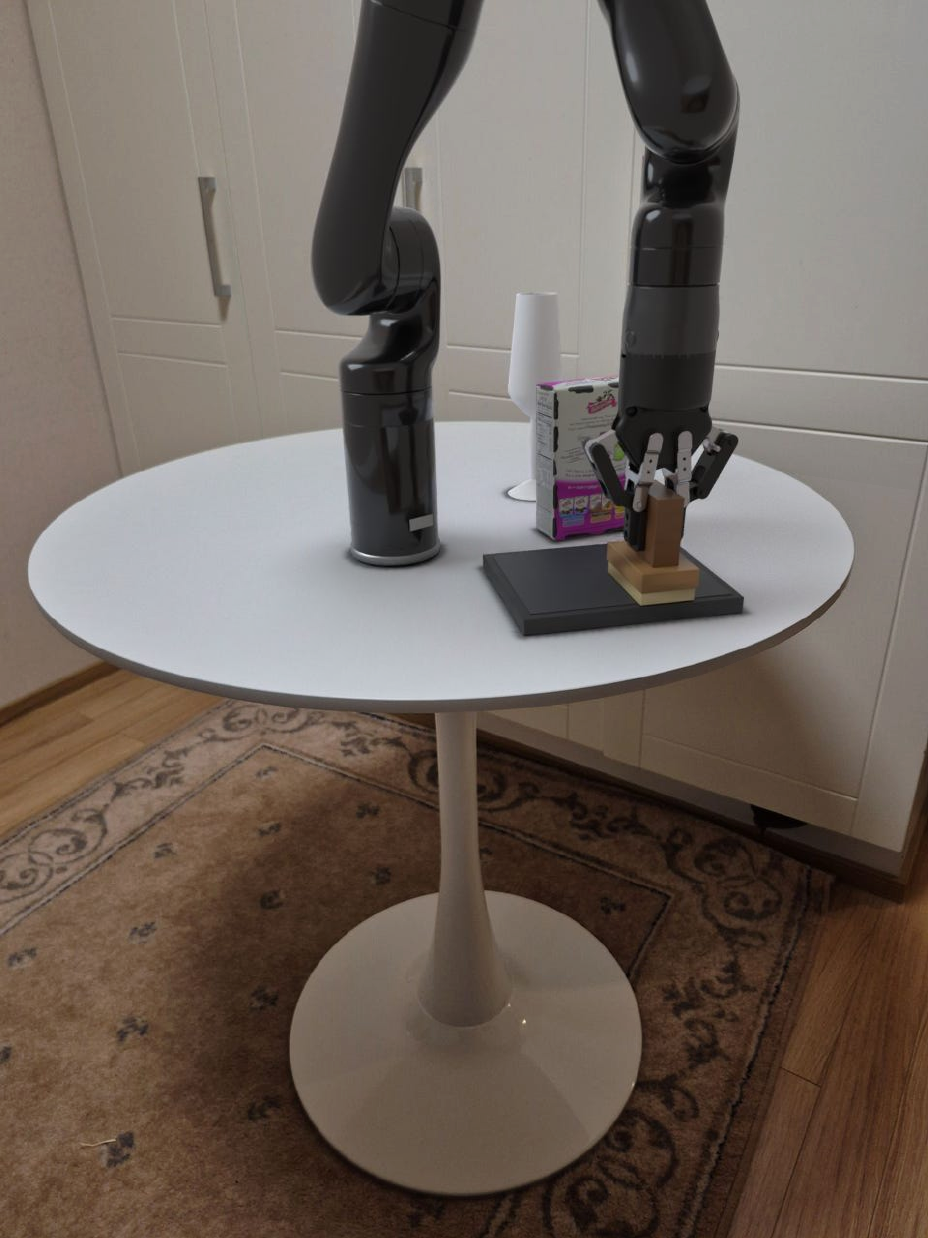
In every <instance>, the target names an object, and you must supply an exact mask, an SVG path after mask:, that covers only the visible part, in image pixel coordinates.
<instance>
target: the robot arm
mask: <svg viewBox="0 0 928 1238" xmlns="http://www.w3.org/2000/svg"><path fill="white" fill-rule="evenodd" d="M595 1H596V4H597V7H598V9H599V12H600V14H601V16H602V19H603V20H604V24H605V25H606V27H607V30H608V33H609V37H610V42H611V47H612V52H613V56H614V60H615V65H616V68H617V72H618V73H617V74H618V77H619V81H620V85H621V87H622V93H623V95H624V99H625V103H626V105H627V109H628V111H629V115H630V118H631V121H632V124H633V126H634V129H635V131H636V133H637V135H638V137H639V139H640V141H641V142H642V143H643V144H644V152H643V153H644V154H643V168H642V181H641V182H642V183H641V198H640V203H639V205H638V208H637V209H636V212H635V214H634V216H633V220H632V224H631V225H632V226H631V231H630V242H629V257H628V273H627V283H628V284H627V286H626V294H625V300H624V305H623V310H622V320H621V336H620V339H621V340H620V353H619V354H620V355H619V369H618V370H619V371H618V375H619V386H618V411H617V414H616V417H615V419H614V420H613V422H612V425H611V430H610V431H608V432H606V433H604V434H603V435H601V436H599V437H597V438H596V439H593V438H587V439H585V440H584V441H583V444H582V447H583V450H584V452H585V454H586V456H587V459H588V461H589V463H590V465H591V467H592V469H593V472H594V474H595V476H596V478H597V480H598V483H599V485H600V487H601V489H602V491H603V493H604V496H605V497H606V498H607V499H609V500H611V501H612V502H613V503H614V504H615V505H616V506H619V507H620V506H624V508H625V513H624V529H623V530H622V536H623V539H624V540H625V541H626V542H627V543H628V544H629V546H630V547H631V548H632V549H633V550H634V551H636V552H637V551H644V549H645V538H646V525H647V511H646V510H644V509H645V508H646V504H647V499H648V494H649V489H650V486H652V484H653V482H654V480H655V476H656V471H659V470H661V472H662V475H663V479H664V480H663V481H664V485H665V486H667V487H668V488H670V489H671V490H673V491H674V492H676V493H677V494H679V495H680V496H682V497H683V498H685V502H684V512H683V523H682V533H681V541H683V538H684V536H685V535H684V534H685V524H686V515H687V514H686V513H687V508H688V506H689V504H691V503H692V502H695V501H697V500H706V499H707V498H708V497H709V495H710V493H711V492H712V490H713V488H714V486H715V485H716V483H717V482H718V479H719V478H720V476H721V474H722V473H723V471H724V469H725V467H726V466H727V464H728V462H729V460H730V458H731V457H732V455H733V454H734V451H735V450H736V448H737V446H738V445H739V437H738V436H737V435H735V434H733V433H731V432H729V431H727V430H725V429H722V428H717V427H716V426H713V419H712V417H711V414H710V411H709V410H710V409H709V408H710V407H709V406H710V403H711V401H712V395H713V384H714V376H715V367H716V357H717V345H718V340H719V337H720V330H719V329H720V328H719V327H720V317H721V316H720V315H721V314H720V313H721V307H720V305H721V303H720V284H719V283H721V275H722V267H723V255H724V245H725V219H726V218H725V217H726V216H725V215H726V213H725V211H726V202H727V197H728V193H729V187H730V180H731V175H732V170H733V164H734V160H735V159H734V158H735V152H736V145H737V139H738V132H739V123H740V115H741V114H740V113H741V93H740V92H741V91H740V88H739V84H738V81H737V78H736V77H735V74H734V72H733V70H732V68H731V65H730V63H729V59H728V57H727V53H726V52H725V49H724V47H723V43H722V41H721V38H720V35H719V32H718V30H717V26H716V23H715V21H714V18H713V15H712V12H711V10H710V7H709V5H708V2H707V0H595ZM485 2H486V0H361V2H360V7H359V8H360V9H359V17H358V24H357V30H356V38H355V43H354V50H353V56H352V59H351V60H352V61H351V65H350V71H349V76H348V82H347V87H346V92H345V97H344V102H343V108H342V113H341V118H340V122H339V127H338V132H337V136H336V140H335V145H334V148H333V153H332V156H331V160H330V164H329V167H328V171H327V175H326V178H325V182H324V186H323V190H322V194H321V198H320V200H319V205H318V210H317V213H316V217H315V221H314V226H313V231H312V237H311V242H310V243H311V244H310V257H309V258H310V262H309V264H310V274H311V275H310V276H311V279H312V284H313V287H314V288H313V289H314V290H315V293H316V295H317V297H318V299H319V301H320V302H321V303H322V306H324V307H325V308H326V309H327V310H329V312H331V313H333V314H335V315H338V316H341V317H365V316H368V324H367V328H366V331H365V332H364V335H363V336H362V338H361V339H360V340H359V341H358V343H357V344H355V346H354V347H352V348H351V349H350V350H349V351H347V352H346V353H345V354H344V355H342V357H340V358H339V361H338V364H337V375H338V376H337V377H338V378H337V379H338V388H339V389H338V390H339V391H338V392H339V401H340V415H341V425H342V436H343V439H342V440H343V450H344V451H343V452H344V463H345V476H346V489H347V499H348V500H347V501H348V514H349V529H350V553H351V556H352V557H353V558H354V559H356V560H357V561H360V562H362V563H366V564H370V565H375V566H389V567H390V566H404V565H405V566H406V565H412V564H416V563H421V562H424V561H426V560H429V559H431V558H433V557H435V556H436V555H437V554H438V553H439V552H440V546H441V545H440V538H439V522H438V521H439V520H438V519H439V518H438V486H437V485H438V484H437V483H438V482H437V455H436V426H435V403H434V402H435V400H434V369H435V365H436V362H437V360H438V356H439V353H440V347H441V317H442V316H441V315H442V314H441V313H442V312H441V308H442V268H441V267H442V266H441V256H440V248H439V244H438V240H437V237H436V234H435V232H434V229H433V228H432V226H431V224H430V222H429V221H428V220H427V218H426V217H425V216H424V215H423V214H422V213H421V212H419V211H418V210H417V209H414V208H412V207H408V206H403V205H402V206H401V205H395V202H396V198H397V193H398V188H399V185H400V182H401V180H402V179H401V178H402V175H403V172H404V169H405V167H406V164H407V162H408V160H409V157H410V155H411V153H412V151H413V150H414V148H415V146H416V144H417V143H418V141H419V139H420V138H421V136H422V134H423V133H424V131H425V130H426V128H427V127H428V125H430V123H431V122H432V120H433V119H434V117H435V115H436V114H437V113H438V111H439V110H440V108H441V107H442V105H443V104H444V102H445V101H446V100H447V98H448V97H449V95H450V94H451V92H452V90H454V88H455V86H456V84H457V83H458V81H459V79H460V77H461V76H462V74H463V72H464V70H465V69H466V67H467V64H468V62H469V60H470V57H471V54H472V52H473V49H474V46H475V42H476V38H477V35H478V31H479V27H480V23H481V19H482V16H483V11H484V6H485ZM617 443H618V444H619V446H620V447H621V449H622V450H623V452H624V453H625V455H626V456H627V463H626V469H625V476H626V482H625V487H624V489H623V487H622V485H621V482H620V480H619V478H618V476H617V473H616V471H615V469H614V467H613V464H612V462H611V461H612V460H613V459H614V457H615V445H616V444H617ZM701 445H702V448H703V451H702V452H701V454H700V456H699V458H698V459H697V461H696V462H695V464H694V466H693V468H692V457H693V456H694V454H695V453H696V452H697V451H698V449H699V448H700V446H701Z"/></svg>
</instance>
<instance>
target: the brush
mask: <svg viewBox="0 0 928 1238" xmlns="http://www.w3.org/2000/svg"><path fill="white" fill-rule="evenodd" d="M684 502H685V498H683V497H682V496H680V495H679V494H677V493H676V492H674V491H673V490H671V489H670V488H668V487H667V486H665V483H664V484H663V483H662V482H661V481H659V480H657V479H655V478H654V482H653V484H652V486H650V489H649V494H648V499H647V504H646V508H645V509H644V510H646V511H647V525H646V538H645V549H644V551H637V552H636V551H634V550H633V549H632V548H631V547H630V546H629V544H628V543H627V542H626V541H625V539H624V540H615V541H607V543H608V547H607V560H608V561H609V562H608V573H609V574H610V575H611V576H612V577H613V578H614V579H615V580H616V581H617V582H618V583H619V584H620V585H621V586H622V587H623V588H624V589H625V590H626V591H627V592H628V593H629V594H630V595H631V596H632V597H633V598H634V599H635V600H636V602H637V603H638V604H639V605H641V606H642V605H652V604H661V603H671V602H680V601H690V600H694V597H695V588H698V580H699V571H700V569H699V568H698V567H696V566H695V565H694V564H693V563H691V562H690V561H689V560H688V559H686V558H685V557H684V556H683V555H681V554H680V546H681V543H682V540H681V533H682V523H683V512H684Z"/></svg>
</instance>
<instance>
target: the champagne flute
mask: <svg viewBox="0 0 928 1238" xmlns="http://www.w3.org/2000/svg"><path fill="white" fill-rule="evenodd" d="M515 296H516V297H515V308H514V317H513V318H514V319H513V320H514V321H513V329H512V340H511V351H510V364H509V371H508V372H509V373H508V384H507V392H508V395H509V397H510V399H511V400H512V402H513V403H514V405H515V406H516V407H517V408H518V409H519V410H520V411H521V412H522V413H524V415H526V416H528V417H529V420H530V421H529V477H528V479H526V480H524V481H523V482H521V483H519V484H518V485H516V486H515V487H513V488H511V489H510V490H508V492H507V494H508V496H509V497H511V498H514V499H516V500H521V501H531V502H536V450H537V449H536V384H539V383H549V382H558V381H564V380H563V379H564V378H563V364H562V363H563V361H562V349H561V348H562V345H561V334H560V330H561V329H560V318H559V317H560V315H559V299H558V292H553V291H552V292H551V291H529V292H528V291H526V292H518V293H516V295H515Z"/></svg>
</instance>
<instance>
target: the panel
mask: <svg viewBox="0 0 928 1238" xmlns="http://www.w3.org/2000/svg"><path fill="white" fill-rule="evenodd" d="M607 547H608V542H607V543H597V544H585V545H574V546H573V545H572V546H563V547H562V546H561V547H552V548H541V549H530V550H518V551H508V552H506V551H505V552H496V553H486V554H484V553H483V554H482V569H483V571H484V572H485V574H486V576H487V577H488V579H489V580H490V582H491V584H492V585H493V587H494V589H495V590H496V592H497V594H498V596H499V597H500V599H501V601H502V602H503V604H504V605H505V607H506V609H507V611H508V613H509V614H510V615H511V617H512V619H513V620H514V622H515V624H516V626H517V627H518V629H519V630H520V632H521V634H522V635H523V636H525V637H526V636H534V635H544V634H553V633H562V632H571V631H582V630H590V629H591V630H592V629H600V628H609V627H618V626H627V625H628V626H629V625H637V624H647V623H656V622H665V621H675V620H684V619H685V620H686V619H694V618H702V617H711V616H712V617H713V616H721V615H731V614H741V613H743V610H744V604H745V603H744V602H745V596H744V595H742V594H741V593H740V592H739V591H737V589H735V588H734V587H732V586H731V585H730V584H728V582H726V581H725V580H723V579H722V578H721V577H720V576H719V575H717V574H716V573H715V572H713V571H712V570H711V569H710V568H708V567H707V566H706V565H705V564H703V563H702V562H701V561H699V560H698V559H697V558H696V557H694V555H692V554H691V553H689V552H688V551H687V550H686V549H685V548H683V547H682V546H681V545H680V554H681V555H683V556H684V557H685V558H686V559H688V560H689V561H690V562H691V563H693V564H694V565H695V566H696V567H698V568H699V569H700V571H699V580H698V588H695V597H694V600H690V601H680V602H671V603H661V604H652V605H642V606H641V605H639V604H638V603H637V602H636V600H635V599H634V598H633V597H632V596H631V595H630V594H629V593H628V592H627V591H626V590H625V589H624V588H623V587H622V586H621V585H620V584H619V583H618V582H617V581H616V580H615V579H614V578H613V577H612V576H611V575H610V574H609V573H608V562H609V561H608V560H607Z"/></svg>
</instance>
